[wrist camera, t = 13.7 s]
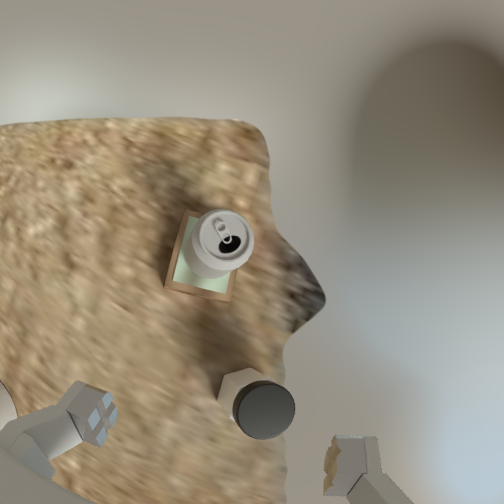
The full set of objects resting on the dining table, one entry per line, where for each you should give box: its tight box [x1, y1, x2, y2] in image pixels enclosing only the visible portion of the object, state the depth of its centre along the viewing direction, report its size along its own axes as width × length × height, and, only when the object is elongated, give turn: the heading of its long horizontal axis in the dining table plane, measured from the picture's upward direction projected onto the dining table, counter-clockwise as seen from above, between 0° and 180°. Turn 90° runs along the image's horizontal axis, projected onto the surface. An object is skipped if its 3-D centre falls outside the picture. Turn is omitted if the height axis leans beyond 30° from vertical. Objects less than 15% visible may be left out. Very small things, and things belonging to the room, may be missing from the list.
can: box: [185, 209, 254, 279], centre depth 42 cm, size 8×8×12 cm
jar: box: [217, 368, 295, 439], centre depth 44 cm, size 9×8×12 cm
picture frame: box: [164, 209, 237, 303], centre depth 49 cm, size 10×12×4 cm
